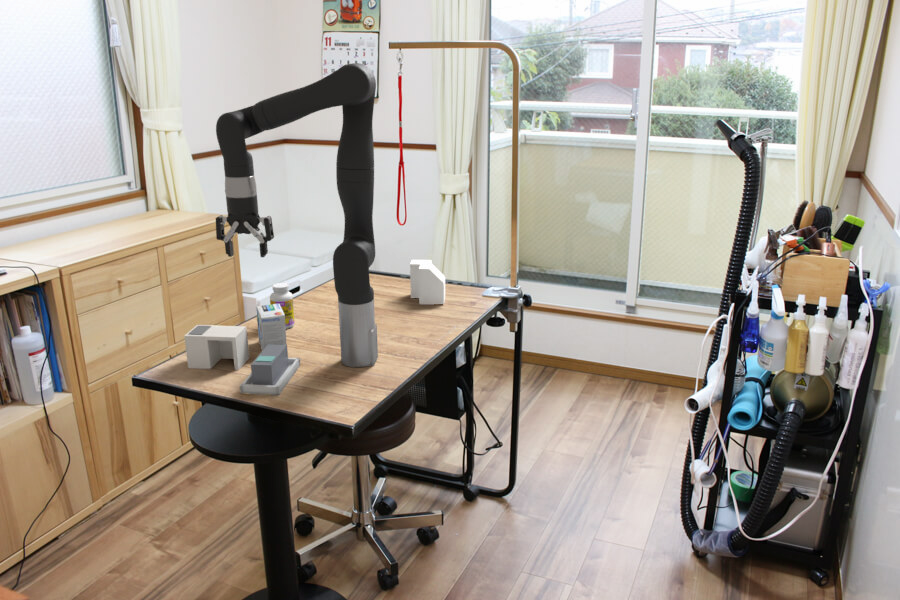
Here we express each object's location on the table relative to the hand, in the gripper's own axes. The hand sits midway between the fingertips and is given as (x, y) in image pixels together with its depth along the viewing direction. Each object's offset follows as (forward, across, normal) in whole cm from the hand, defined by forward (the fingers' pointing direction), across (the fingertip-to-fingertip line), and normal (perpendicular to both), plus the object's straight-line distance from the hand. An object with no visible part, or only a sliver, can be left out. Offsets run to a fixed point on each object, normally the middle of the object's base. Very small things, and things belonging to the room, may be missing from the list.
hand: (247, 256), depth 191 cm
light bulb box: (+28, -2, -8) cm, 30 cm away
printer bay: (+28, +8, +5) cm, 30 cm away
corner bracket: (+28, -40, -53) cm, 72 cm away
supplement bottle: (+28, 0, -24) cm, 37 cm away
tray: (+28, -8, +13) cm, 32 cm away
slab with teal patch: (+28, -8, +13) cm, 32 cm away
